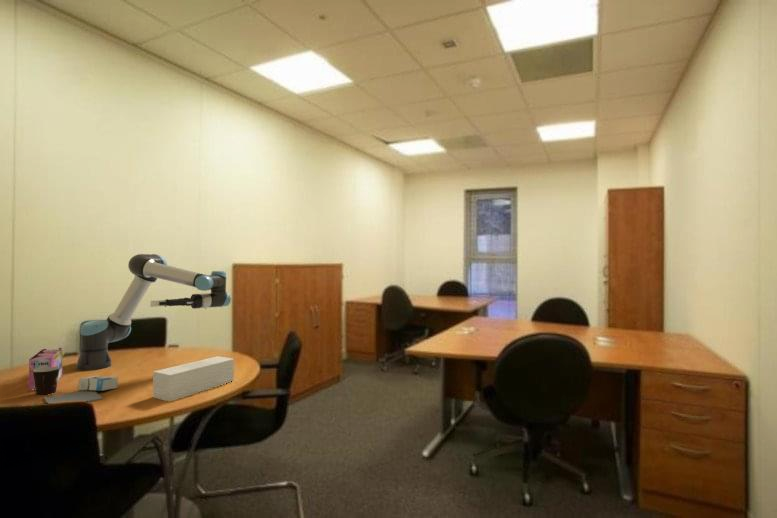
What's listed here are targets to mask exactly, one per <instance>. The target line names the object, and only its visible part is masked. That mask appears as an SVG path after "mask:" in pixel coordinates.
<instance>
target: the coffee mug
mask: <svg viewBox="0 0 777 518" xmlns="http://www.w3.org/2000/svg"><path fill="white" fill-rule="evenodd" d="M33 375H34V382H35V389H36V390H35V394H36V395H35V396H37V395H44V396H49V395H48V394H50V395H53V394H52V393H54V394H55V393H57V388H58V381H59V380H58V375H59V367H44V368H39V369H35V370H33Z"/></svg>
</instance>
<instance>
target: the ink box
mask: <svg viewBox="0 0 777 518" xmlns="http://www.w3.org/2000/svg"><path fill="white" fill-rule="evenodd" d="M118 380H119V377H118V376H103V375H92V376H84V377H80V378H78V385H77V390H79V391H85V390H94V391H96V392H98V391H99V392H103V391H108V390H109V391H110V390H113V389H117V388H118V384H119V381H118Z"/></svg>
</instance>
